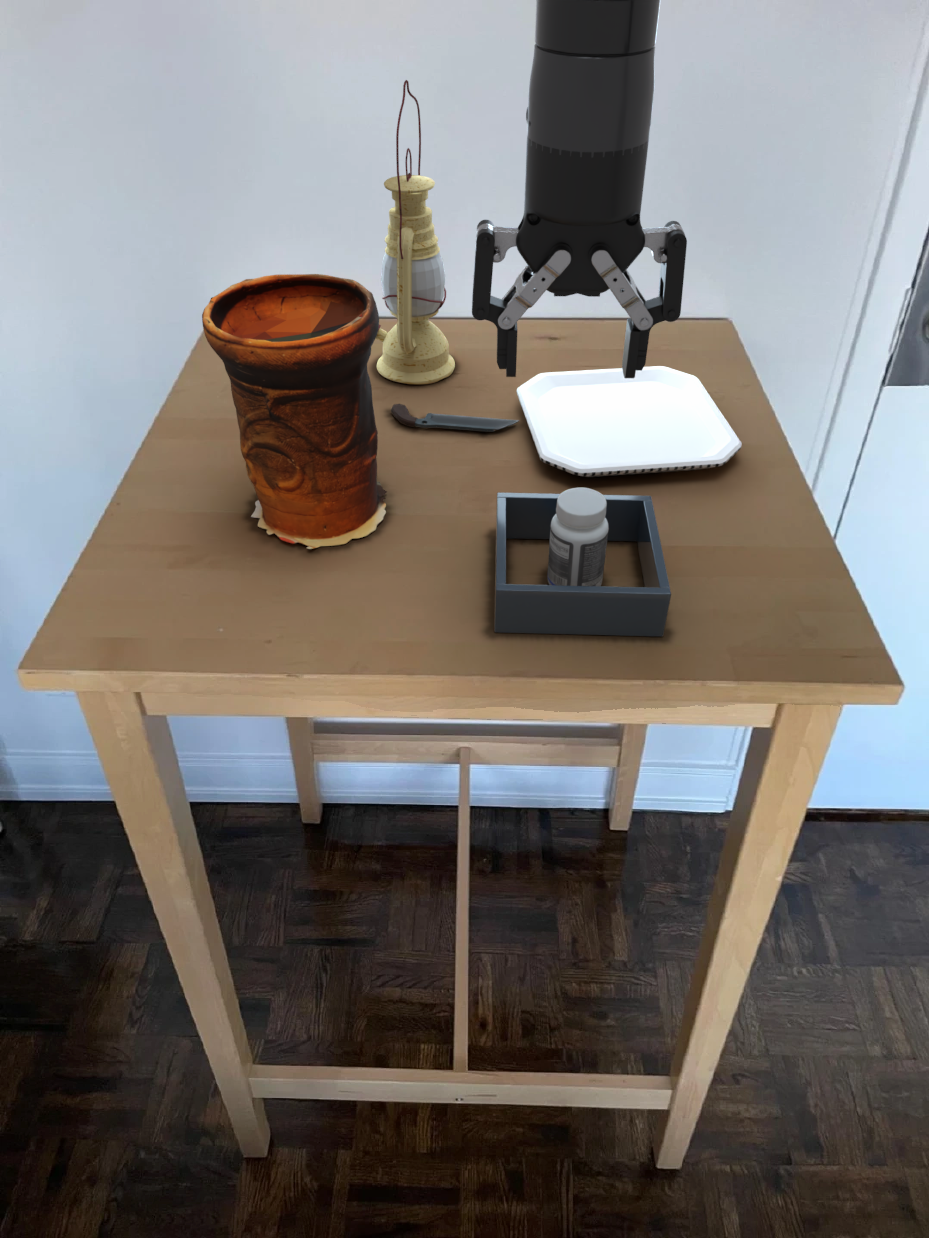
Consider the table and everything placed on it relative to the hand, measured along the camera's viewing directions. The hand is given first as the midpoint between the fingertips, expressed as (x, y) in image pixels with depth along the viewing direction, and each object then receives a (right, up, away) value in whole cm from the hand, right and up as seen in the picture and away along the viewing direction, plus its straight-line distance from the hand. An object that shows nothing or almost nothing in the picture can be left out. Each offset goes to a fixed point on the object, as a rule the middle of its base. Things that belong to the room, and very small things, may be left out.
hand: (569, 373), depth 69 cm
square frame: (+2, -15, +13) cm, 19 cm away
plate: (+9, +2, +32) cm, 33 cm away
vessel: (-22, -8, +21) cm, 31 cm away
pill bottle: (+2, -15, +13) cm, 20 cm away
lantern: (-14, +12, +43) cm, 46 cm away
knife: (-9, +3, +33) cm, 34 cm away
